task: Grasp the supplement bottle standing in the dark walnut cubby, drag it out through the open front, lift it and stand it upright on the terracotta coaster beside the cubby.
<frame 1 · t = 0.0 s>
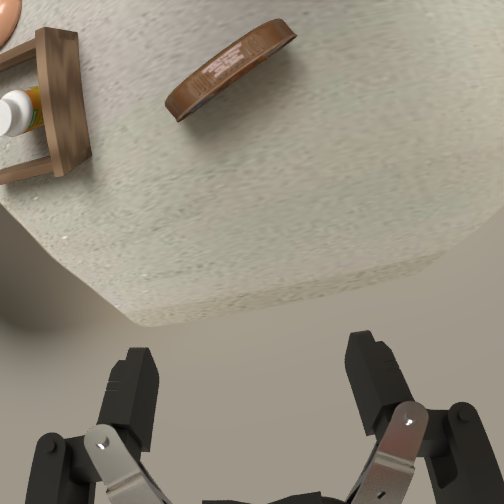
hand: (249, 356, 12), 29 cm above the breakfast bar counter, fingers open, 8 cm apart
tin: (229, 69, 32), on the breakfast bar counter
cubby: (42, 105, 31), on the breakfast bar counter
supplement bottle: (43, 105, 31), on the breakfast bar counter
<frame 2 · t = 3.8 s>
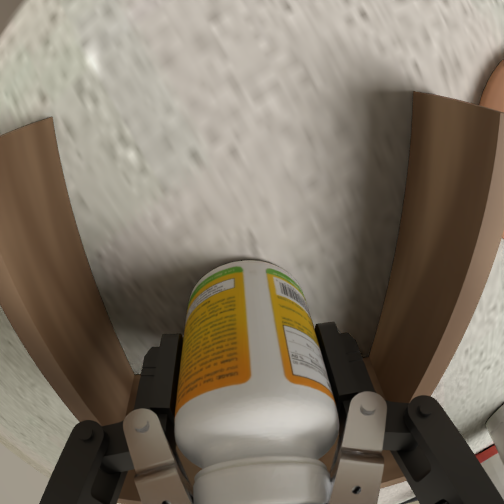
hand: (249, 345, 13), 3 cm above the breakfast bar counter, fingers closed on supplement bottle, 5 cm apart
cubby: (246, 305, 15), on the breakfast bar counter
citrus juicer: (475, 457, 41), on the breakfast bar counter
supplement bottle: (246, 302, 15), on the breakfast bar counter, touching gripper
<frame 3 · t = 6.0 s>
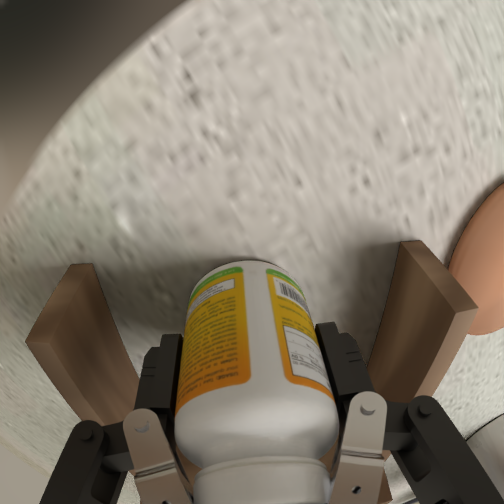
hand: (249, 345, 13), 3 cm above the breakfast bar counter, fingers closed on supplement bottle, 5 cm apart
cubby: (255, 387, 18), on the breakfast bar counter
supplement bottle: (246, 303, 15), on the breakfast bar counter, touching gripper
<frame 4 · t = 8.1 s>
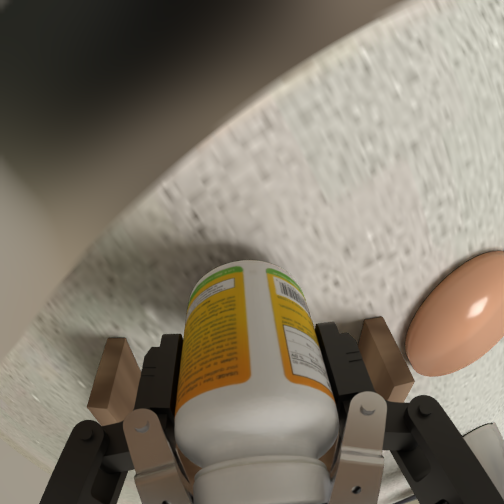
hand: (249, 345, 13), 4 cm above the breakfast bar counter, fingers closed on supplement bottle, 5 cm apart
coaster: (468, 316, 19), on the breakfast bar counter
cubby: (252, 416, 23), on the breakfast bar counter
supplement bottle: (246, 302, 15), point 1 cm above the breakfast bar counter, touching gripper
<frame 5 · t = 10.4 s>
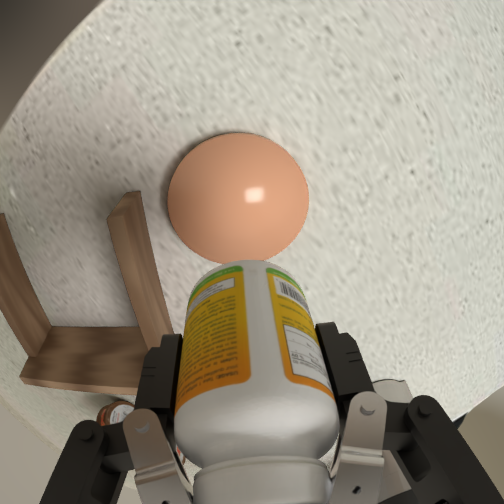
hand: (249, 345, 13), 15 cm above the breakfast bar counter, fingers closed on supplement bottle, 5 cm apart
coaster: (238, 200, 26), on the breakfast bar counter
tin: (147, 414, 42), on the breakfast bar counter
cubby: (86, 291, 29), on the breakfast bar counter
supplement bottle: (246, 302, 15), point 12 cm above the breakfast bar counter, touching gripper
when the fingers open (5 cm above the breakfast bar counter, at t = 12.6 s): supplement bottle drops 2 cm, resting on coaster.
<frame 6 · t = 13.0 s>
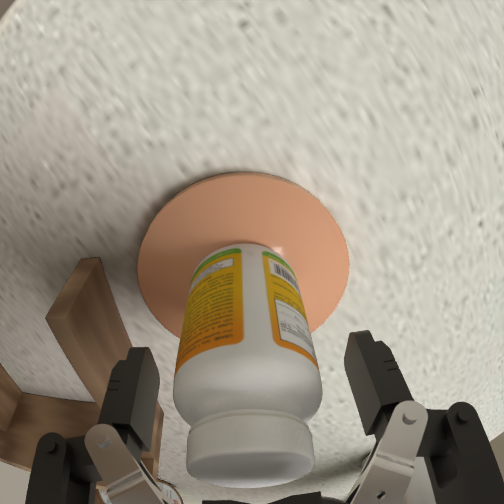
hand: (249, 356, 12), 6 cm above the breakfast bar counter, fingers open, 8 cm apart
coaster: (243, 272, 17), on the breakfast bar counter
tin: (141, 472, 34), on the breakfast bar counter
cubby: (52, 365, 21), on the breakfast bar counter
supplement bottle: (243, 283, 17), point 1 cm above the breakfast bar counter, touching coaster
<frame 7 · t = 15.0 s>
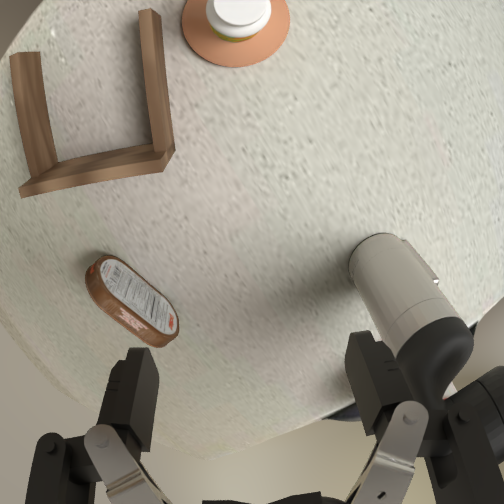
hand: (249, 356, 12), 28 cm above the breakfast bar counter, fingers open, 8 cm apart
coaster: (235, 20, 27), on the breakfast bar counter
tin: (141, 281, 44), on the breakfast bar counter
cubby: (99, 110, 31), on the breakfast bar counter
supplement bottle: (235, 19, 26), point 1 cm above the breakfast bar counter, touching coaster
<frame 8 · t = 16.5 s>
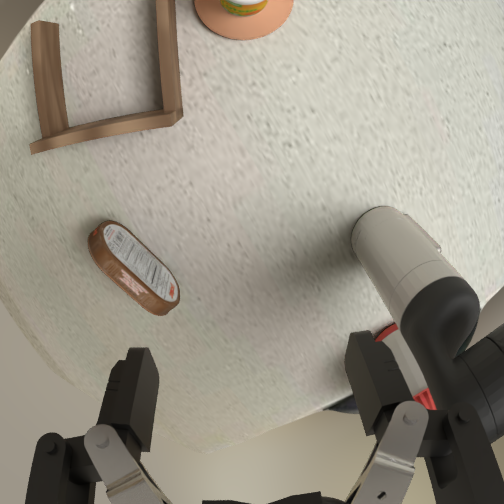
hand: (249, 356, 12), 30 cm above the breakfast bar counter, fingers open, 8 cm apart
tin: (143, 250, 44), on the breakfast bar counter
cubby: (112, 78, 31), on the breakfast bar counter
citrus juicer: (393, 340, 58), on the breakfast bar counter
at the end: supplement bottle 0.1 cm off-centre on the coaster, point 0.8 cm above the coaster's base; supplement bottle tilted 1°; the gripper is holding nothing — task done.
